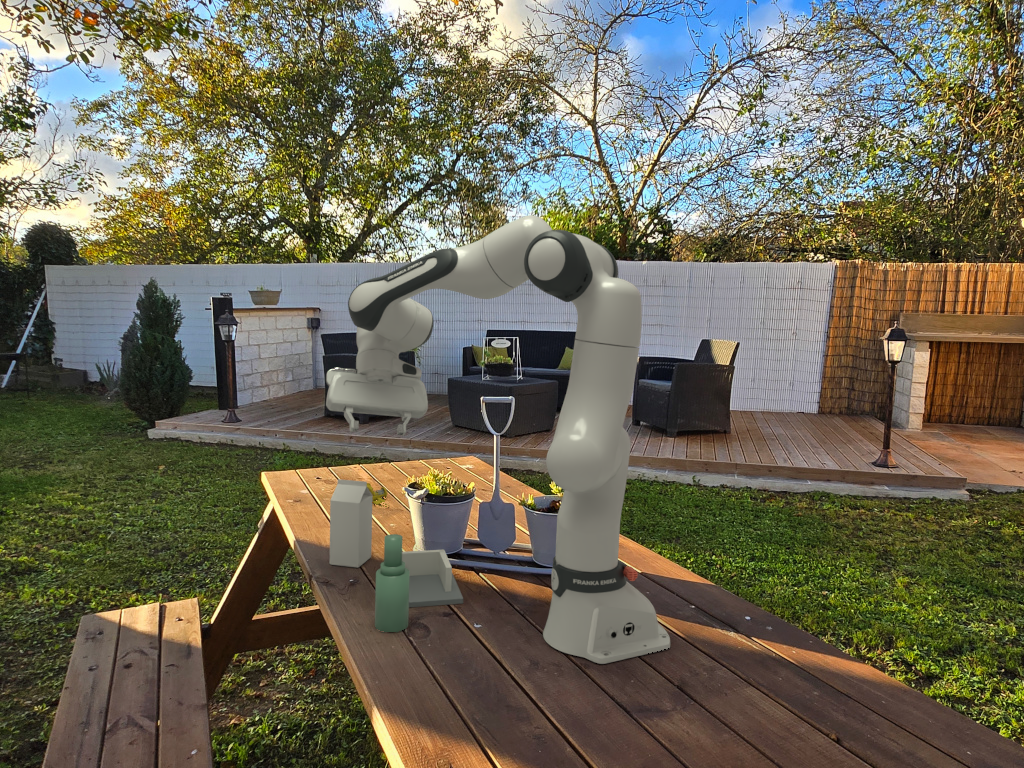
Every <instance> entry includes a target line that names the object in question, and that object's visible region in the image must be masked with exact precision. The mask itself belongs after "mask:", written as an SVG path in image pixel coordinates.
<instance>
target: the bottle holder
mask: <svg viewBox="0 0 1024 768" xmlns="http://www.w3.org/2000/svg"><path fill="white" fill-rule="evenodd" d="M402 561H403V562H405V568H407V569H408V570H409V572H410V573H409V608H418V607H419V608H420V607H433V606H444V605H445V606H448V605H449V606H450V605H458V604H459V605H461V604H464V597H463V594H462V593H461V589H460V588H459V585H458V583H457V581H456V578H455V576H454V573H453V568H452V565H451V562H450V560H449V558H448V555H447V553H446V551H445V549H431V550H428V549H427V550H412V551H410V550H409V551H402Z"/></svg>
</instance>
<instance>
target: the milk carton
mask: <svg viewBox="0 0 1024 768" xmlns="http://www.w3.org/2000/svg"><path fill="white" fill-rule="evenodd" d="M367 483H368V482H367V481H364V480H363V481H360V480H351V479H350V480H349V479H340V478H338V479H337V485H336V486H335V489H334V492H333V494H332V496H331V498H330V507H329V508H330V509H329V513H330V515H329V565H331V566H332V565H333V566H339V567H340V566H341V567H349V568H360V567H361V566H362V565H363V564H365V563H366V562H367V561H368V560H369V559H371V558H372V547H373V546H372V544H373V543H372V542H373V540H372V539H373V538H372V537H373V534H372V533H373V503H372V496H373V495H372V494H371V492H370V491H369V489H368V488H367Z"/></svg>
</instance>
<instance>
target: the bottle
mask: <svg viewBox="0 0 1024 768" xmlns="http://www.w3.org/2000/svg"><path fill="white" fill-rule="evenodd" d="M383 540H384V546H383V547H384V548H383V549H384V550H383V551H384V552H383V561H382V562H381V563H380V568H378V569H377V570H376V571H375V597H374V598H375V599H374V601H375V603H374V604H375V605H374V628H375V627H376V628H375V629H378V630H380V631H384V632H396V633H399V631H400V632H403V631H405V630H406V629H408V627H409V609H410V607H409V573H410V572H409V570H408V569H407V568H405V562H403V561H402V552H403V536H402V535H401V534H398V533H397V534H396V533H393V534H387V535H385V536H384V539H383ZM404 629H405V630H404ZM378 630H377V631H378ZM402 630H403V631H402ZM380 631H379V632H380ZM384 632H383V633H384Z"/></svg>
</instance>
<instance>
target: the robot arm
mask: <svg viewBox="0 0 1024 768" xmlns="http://www.w3.org/2000/svg"><path fill="white" fill-rule="evenodd" d="M527 281H530V282H531V283H532V284H533V285H534V286H535V287H536V288H537V289H539V290H541V291H542V292H544V293H545V294H548V295H550V296H552V297H554V298H556V299H558V300H560V301H562V302H565V303H570V302H571V303H572V304H573V305H574V307H575V308H576V312H577V320H576V321H577V324H576V330H575V337H574V344H573V352H572V358H571V365H570V371H569V372H570V373H569V378H568V379H569V380H568V385H567V389H566V394H565V395H564V400H563V402H562V403H563V404H562V406H561V408H560V409H561V410H560V413H559V417H558V420H557V423H556V427H555V432H554V435H553V439H552V441H551V443H550V446H549V449H548V451H547V453H546V457H545V458H546V459H545V464H546V470H547V473H548V475H549V478H550V479H551V480H552V481H553V482H554V484H555V485H556V486H558V487H559V488H561V489H562V490H563V495H562V499H561V501H560V502H561V503H560V506H559V510H558V511H557V516H556V535H555V536H556V538H555V539H556V541H555V556H554V557H553V559H552V568H551V578H550V579H551V590H552V595H551V596H552V597H551V601H550V607H549V611H548V616H547V620H546V623H545V626H544V628H543V631H542V636H543V639H544V641H545V642H546V643H547V644H548V645H549V646H550V647H552V648H553V649H555V650H558V651H559V652H562V653H564V654H568V655H571V656H572V655H573V656H575V657H576V656H577V657H580V658H585V659H587V660H589V661H591V662H593V663H595V664H596V663H597V664H600V665H604V664H609V663H613V662H618V661H622V660H627V659H630V658H635V657H639V656H644V655H648V653H649V654H652V652H653V653H658V652H660V651H661V650H662V651H665V650H664V649H666V650H669V649H670V648H671V638H670V635H669V634H668V632H667V630H666V629H665V628H664V627H663V626H662V625H661V624H660V623H659V622H658V615H657V612H656V608H655V607H654V605H653V604H652V603H651V601H650V600H649V599H648V598H647V597H646V596H645V595H644V594H643V593H641V591H640V590H638V589H637V588H636V587H634V586H633V584H631V583H629V582H634V581H636V580H637V579H638V577H639V573H638V571H637V570H636V569H634V568H633V567H632V566H627V564H625V562H624V561H621V560H620V559H619V550H620V549H619V547H620V546H619V545H620V530H621V527H620V526H621V516H622V512H623V511H622V509H623V504H624V499H625V492H626V488H627V487H626V486H627V478H628V472H629V471H628V470H629V462H630V456H631V455H630V454H631V449H632V447H631V446H632V445H631V444H632V443H631V439H630V436H629V433H628V431H627V430H626V429H625V427H624V423H625V419H626V414H627V411H628V407H629V405H630V402H631V398H632V396H633V393H634V386H635V380H636V379H635V378H636V373H637V365H638V359H639V353H640V352H639V351H640V345H641V337H642V335H641V334H642V324H643V323H642V320H643V319H642V318H643V317H642V316H643V314H642V296H641V295H642V294H641V293H640V290H639V289H638V287H636V286H635V284H633V283H632V282H630V281H628V280H627V279H623V278H619V266H618V262H617V260H616V259H615V257H614V255H613V254H612V252H611V251H610V250H609V249H608V248H606V247H605V246H604V245H602V244H599V243H597V242H595V241H593V239H590V238H589V237H587V236H584V235H581V234H577V233H572V232H570V231H568V230H566V229H565V230H564V229H553V228H552V227H551V226H550V224H549V223H548V222H547V221H546V220H544V219H543V218H541V217H539V216H538V215H525V216H523V217H520V218H517V219H515V220H512V221H511V222H508V223H506V224H504V225H502V226H500V227H498V228H496V229H495V230H493V231H492V232H490V233H489V234H487V235H485V236H484V237H482V238H480V239H479V240H476V241H474V242H471V243H468V244H465V245H462V246H457V247H453V248H449V247H448V248H442V249H438V250H435V251H432V252H431V253H430V252H429V253H428V254H425V255H423V256H421V257H419V258H417V259H415V260H413V261H411V262H409V263H407V264H404V265H402V266H401V267H399V268H397V269H395V270H393V271H391V272H388V273H386V274H384V275H381V276H378V277H373V278H370V279H369V278H368V279H367V280H365V281H363V282H361V283H359V284H358V285H357V286H356V287H354V289H353V290H352V292H351V293H350V295H349V298H348V300H347V307H348V313H349V315H350V319H351V321H352V323H353V325H355V327H356V346H357V350H358V351H357V354H356V359H355V361H356V362H355V368H345V367H344V368H343V367H334V368H331V369H329V370H327V372H326V374H325V383H326V385H327V386H328V390H327V395H326V401H325V407H326V408H327V410H329V411H331V412H340V413H341V412H342V413H343V416H344V418H345V420H346V422H347V423H348V424H349V432H350V433H351V432H352V433H353V432H354V433H358V431H359V429H360V421H359V420H355V418H354V416H353V413H354V414H365V415H375V416H376V415H377V416H386V417H387V416H389V417H400V418H401V421H402V422H403V423H399V424H398V425H397V427H396V435H397V436H404V437H405V435H406V433H407V425H408V423H409V421H410V420H411V419H412V418H413V419H421V418H423V417H424V416H425V415H426V413H427V411H428V410H429V405H428V404H429V401H428V394H427V389H426V386H425V383H424V382H423V381H422V380H421V377H422V373H423V372H422V369H421V368H419V367H418V366H415V365H413V364H410V363H408V362H405V361H403V360H402V359H400V357H399V355H400V354H401V353H407V352H410V351H413V350H414V349H417V348H419V347H421V346H423V345H425V344H426V343H427V342H428V341H429V340H430V338H431V335H432V333H433V329H434V316H433V313H432V311H431V310H430V309H429V308H427V307H426V306H425V305H423V304H421V303H419V302H418V301H417V300H414V299H412V298H413V297H414V296H417V295H418V294H421V293H423V292H425V291H428V290H435V289H436V290H447V291H452V292H455V293H459V294H463V295H466V296H469V297H472V298H475V299H481V300H490V299H491V300H492V299H494V298H498V297H502V296H504V295H506V294H507V293H509V292H511V291H513V290H514V289H516V288H517V287H519V286H521V285H522V284H524V283H526V282H527ZM627 580H628V581H629V582H628V581H627ZM668 648H669V649H668ZM657 651H658V652H657ZM662 651H661V652H662Z"/></svg>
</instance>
